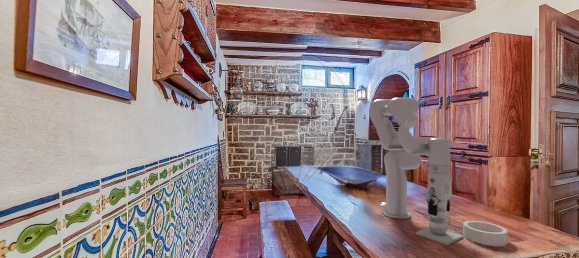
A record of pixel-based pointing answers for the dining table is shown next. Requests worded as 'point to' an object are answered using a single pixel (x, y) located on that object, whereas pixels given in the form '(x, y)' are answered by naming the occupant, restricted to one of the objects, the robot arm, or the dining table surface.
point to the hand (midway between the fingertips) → (439, 212)
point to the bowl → (485, 233)
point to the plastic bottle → (439, 218)
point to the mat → (440, 236)
